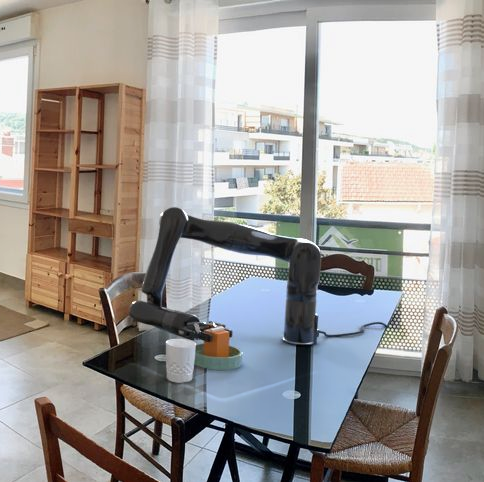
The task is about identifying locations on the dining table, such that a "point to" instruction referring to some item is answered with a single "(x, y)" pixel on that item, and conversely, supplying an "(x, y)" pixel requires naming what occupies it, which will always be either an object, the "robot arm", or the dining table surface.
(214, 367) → the bowl
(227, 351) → the carton
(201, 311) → the dining table surface
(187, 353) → the white cup
